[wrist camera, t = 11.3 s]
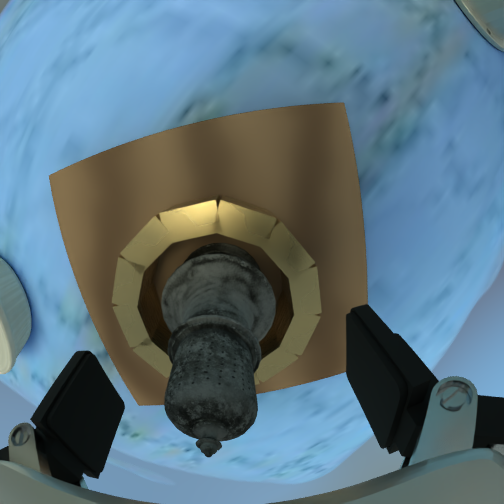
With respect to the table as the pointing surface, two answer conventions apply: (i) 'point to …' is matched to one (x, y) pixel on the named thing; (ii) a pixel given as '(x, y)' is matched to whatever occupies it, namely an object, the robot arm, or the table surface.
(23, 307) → the ramekin
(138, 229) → the wooden board
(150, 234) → the wooden ring
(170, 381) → the stone chess piece
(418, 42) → the table surface
